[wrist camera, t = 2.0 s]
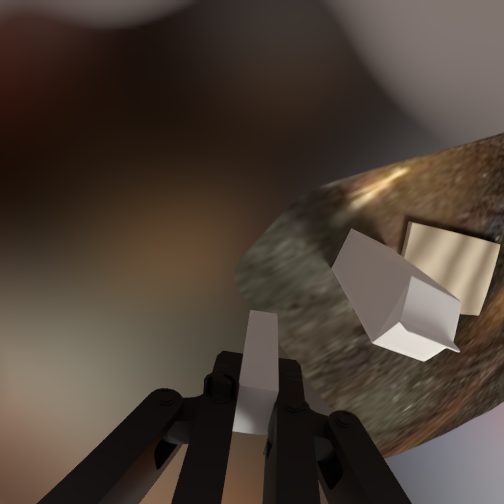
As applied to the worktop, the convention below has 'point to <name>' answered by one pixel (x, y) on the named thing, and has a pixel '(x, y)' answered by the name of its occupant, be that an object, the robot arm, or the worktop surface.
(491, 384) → the worktop surface
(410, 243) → the board
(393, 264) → the white carton-shaped block
